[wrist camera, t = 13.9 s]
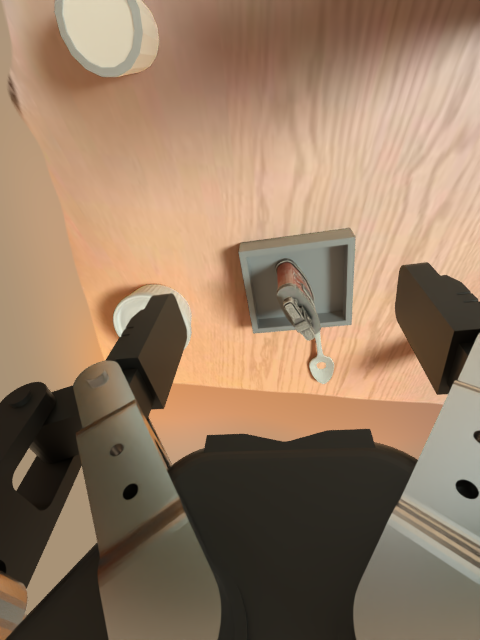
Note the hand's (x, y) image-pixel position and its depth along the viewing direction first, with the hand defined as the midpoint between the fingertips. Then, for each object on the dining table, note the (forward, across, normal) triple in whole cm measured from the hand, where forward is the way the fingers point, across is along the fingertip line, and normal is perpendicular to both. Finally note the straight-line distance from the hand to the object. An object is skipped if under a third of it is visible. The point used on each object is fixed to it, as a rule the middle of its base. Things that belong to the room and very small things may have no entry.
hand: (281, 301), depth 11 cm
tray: (+30, -1, +16) cm, 34 cm away
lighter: (+29, -1, +16) cm, 33 cm away
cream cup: (+30, +12, -13) cm, 35 cm away
